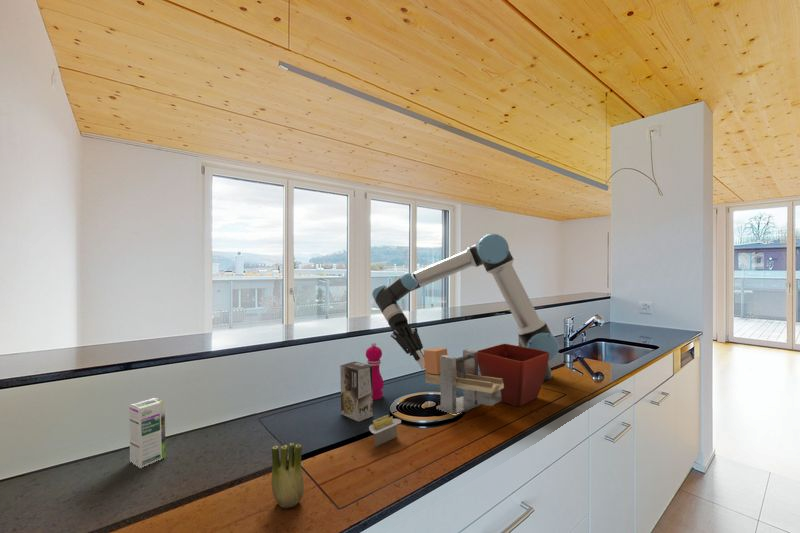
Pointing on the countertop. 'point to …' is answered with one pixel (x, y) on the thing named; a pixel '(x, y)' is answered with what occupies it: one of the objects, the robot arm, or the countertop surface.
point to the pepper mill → (375, 370)
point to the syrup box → (147, 432)
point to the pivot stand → (449, 384)
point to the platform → (384, 429)
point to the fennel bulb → (287, 476)
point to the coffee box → (356, 391)
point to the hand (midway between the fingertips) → (425, 366)
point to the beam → (473, 383)
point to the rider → (433, 360)
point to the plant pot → (515, 371)
